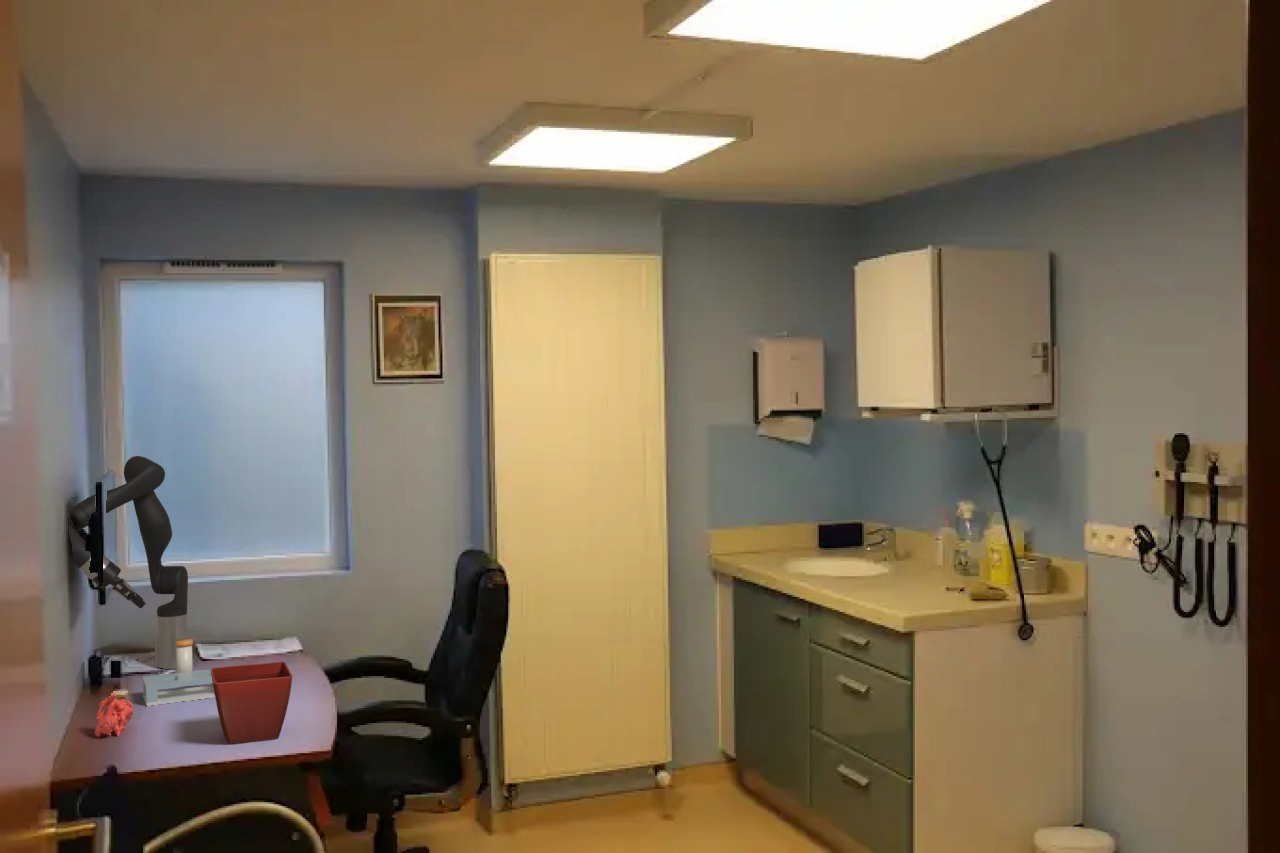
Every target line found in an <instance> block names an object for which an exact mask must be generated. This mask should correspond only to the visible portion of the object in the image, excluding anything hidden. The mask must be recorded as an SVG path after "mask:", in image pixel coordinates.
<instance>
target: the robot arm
mask: <svg viewBox="0 0 1280 853" xmlns="http://www.w3.org/2000/svg"><path fill="white" fill-rule="evenodd" d="M123 477H124V481H125V483H124V484H122V485H119V486H118V487H115V488H111V489H108V490H106V491H107V500H106V513H107V514H108V513H110V512H111V511H113V510H115V509H117V508H119V507H121V506H123V505H125V504H128V503H130V502H133V507H134V511H135V515H136V519H137V523H138V527H139V528H138V529H139V532H140V536H141V540H142V543H143V547H144V551H145V554H146V559H147V567H148V573H149V580H150V586H151V588H152V591H153V593H155V594H157V595H174V597H173V599H172V600H171V601H169V602H167V603H163V604H162V605H159V606H158V607H157V609H156V619H157V622H156V625H157V626H156V628H157V637H156V638H154V656H155V657H154V658H155V659H154V662H155V663H154V664H155V666H156V667H160V668H163V669H162V670H175V669H176V670H177V653H176V646H175V641H176V640H179V639H189V638H188V634H189V633H188V594H189V593H188V592H189V590H188V586H189V574H188V570H187V568H186V566H183V565H163V563H162V558H163V555H164V552H165V551H166V549H167V548H168V546H169V544H170V543H171V541H172V537H173V529H172V524H171V520H170V516H169V515H168V513H167V511H166V509H165V507H164V505H163V503H162V502H161V501H160V498H159V497H158V496H157V494H156V492H155V490H156V489H157V488H159V487H160V486H162V484H163V482H164V481H165V477H166V471H165V469H164V467H163V466H162V465H161V464H159V463H157V462H155V461H154V460H151V459H150V458H147V457H145V456H142V455H135V456H134V455H133V456H132V457H129V459H128V460H127V461H126V462H125V464H124V467H123ZM96 494H97V493H94V494H92V495H90V496H88V497H87V498H85V499H84V500H82V501H80V502H79V503H77V504H76V505H74V506H73V507H71V508H69V509H68V511H69V513H70V517H71V520H72V522H73V525H74V527H75V529H76V530H78V531H77V532H76V530H75V529H74V528H73V527H72V526H70V525H69V535H70V540H71V543H72V552H73V555H72V558H73V563H74V564H73V563H72V564H73V566H75V567H76V568H77V569H78V570H80V571H81V573H82V574H83V575H85V576H86V577H87V578H88V579H90V580H91V581H92V582H93V583H95V585H97V586H98V587H100V586H99V581H98V575H97V574H96V573H90V570H89V567H90V561H91V553H90V552H89V551H86V550H85V549H86V548H85V542H86V541H85V540H84V538H83V537H82V536H81V535H80V534H79V531H80V530H82V529H84V528H86V527H88V526H89V525H88V523H87V522H88V521H89V520H90V518H91V514H92V513H93V511H94V509H95V496H96ZM121 571H122V569H121V568H120V567H119V566H118V565H116V564H115V563H114V562H113V561H112V560H110V559H109V558H108V557H107V556H105V555H104V556H103V583H102V586H101V587H100V588H101V589H105V588H107V587H108V586H109V585H111V586H112V590H113V591H114V592H116V593H117V594H119V595H120V596H121V597H122V598H125V599H126V600H127V601H129V602H131V603H132V604H134V605H135V606H136V607H138V608H139V609H142V608H143V607H144V606H146V601H144V598H143V597H142V596H141V595H140V594H138V592H136V591H135V590H134V589H133V588H132V586H131V585H130V583H128V582H127V581H126V580H125V579H124V578H123V577H122V578H120V576H119V575H120V573H121ZM156 667H155V668H156ZM160 668H159V669H160Z"/></svg>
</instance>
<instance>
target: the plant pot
mask: <svg viewBox="0 0 1280 853" xmlns="http://www.w3.org/2000/svg"><path fill="white" fill-rule="evenodd" d="M210 669H211V675H212V682H213V688H214V694H215V698H214V699H215V702H216V703H215V704H216V708H217V713H218V718H219V722H220V727H221V729H222V732H223V736H224V738H225V742H226V743H227V744H237V743H246V742H247V743H249V742H256V741H257V742H258V741H259V742H260V741H266V740H267V741H268V740H276V739H278V738H279V737H280V735H281V732H282V728H283V726H284V722H285V719H286V714H287V710H288V706H289V702H290V696H291V691H292V682H293V675H292V673H291V672H292V671H291V670H290V668H289V666H288V665H287V662H285V661H277V662H265V663H264V662H263V663H254V664H243V665H242V664H240V665H229V666H220V667H211V668H210Z"/></svg>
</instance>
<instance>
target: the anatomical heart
mask: <svg viewBox="0 0 1280 853" xmlns="http://www.w3.org/2000/svg"><path fill="white" fill-rule="evenodd" d="M98 706H99V708H98V710H97V712H96V720H98V721H97V724H96V726H95V729H94V734H95V737H97V738H101V735H102V734H104V735H108V736H109V737H111V735H112V733H111V732H114V734H115V735H116V737H119V736H120V735H121V734H122V733H123V732H124V731H125V730H126V729H127V723H128V722H130V721H131V720H132V717H133V715H134V705H133V703H132V702H130V701H129V700H127V699H125V698H123V699H122V698H121V699H118V695H116V693H113V694H112V696H110V695H108V697H107V698H106V697H105V698H104V700H102V701H101V702H100V703H99V704H98ZM104 706H107V707H106V709H105V710H103V708H104Z"/></svg>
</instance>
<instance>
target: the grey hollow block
mask: <svg viewBox="0 0 1280 853" xmlns="http://www.w3.org/2000/svg"><path fill="white" fill-rule="evenodd" d="M211 669H212V668H209V669H200V670H193V671H190V672H181V673H177V672H173V673H164V674H158V675H157V674H156V675H148V676H147V675H146V676H142V698H143V700H144V703H145V705H147V706H146V707H152V706H151V705H154V706H159V705H158V704H162V705H167V704H166V703H170V704H175V703H174V702H178V703H182V702H181V701H186V702H192V701H191V700H194V701H199V700H198V699H202V700H206V699H205V698H210V699H213V698H212V697H215V694H214V688H213V682H212V675H211ZM207 684H210V685H207ZM199 685H203V686H199ZM183 686H189V687H185V688H184V687H183ZM192 686H193V687H192ZM194 686H197V687H194ZM174 688H179V689H174ZM164 689H166V690H164ZM167 689H171V690H167ZM159 690H161V691H159Z"/></svg>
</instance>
